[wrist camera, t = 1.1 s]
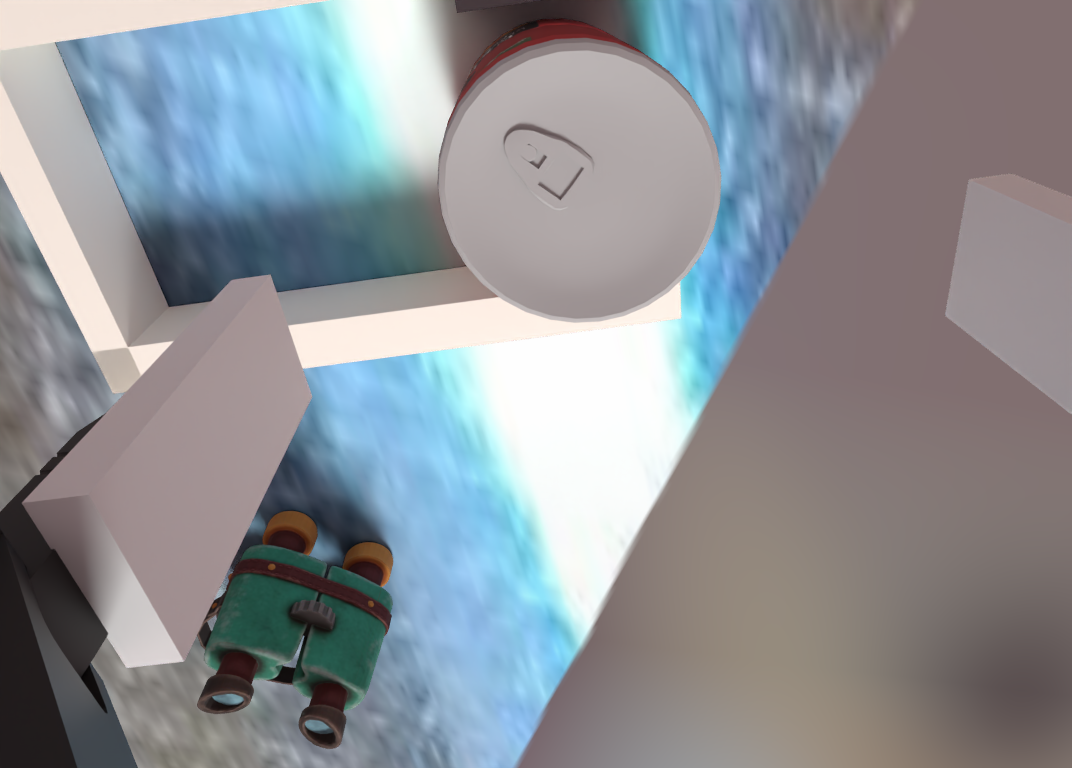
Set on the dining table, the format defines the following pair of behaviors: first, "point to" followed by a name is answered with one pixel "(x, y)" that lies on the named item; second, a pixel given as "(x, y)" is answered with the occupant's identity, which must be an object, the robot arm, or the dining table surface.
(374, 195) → the dining table surface
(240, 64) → the dining table surface
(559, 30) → the canned food
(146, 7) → the white rectangular tray
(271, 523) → the binoculars
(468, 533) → the dining table surface
